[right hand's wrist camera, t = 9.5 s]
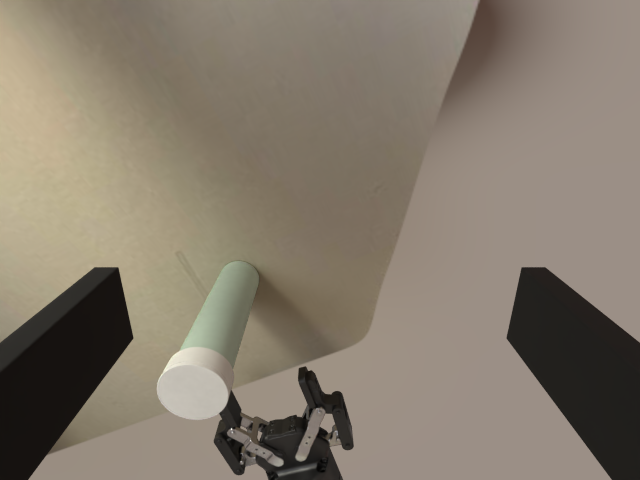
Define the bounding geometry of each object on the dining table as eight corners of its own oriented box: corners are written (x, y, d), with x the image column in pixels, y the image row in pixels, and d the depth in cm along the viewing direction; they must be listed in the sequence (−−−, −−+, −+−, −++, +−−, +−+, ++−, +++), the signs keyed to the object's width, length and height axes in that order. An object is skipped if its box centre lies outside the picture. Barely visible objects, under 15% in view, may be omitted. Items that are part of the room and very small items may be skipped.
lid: (160, 348, 27) (149, 366, 25) (228, 344, 27) (222, 362, 25) (174, 401, 29) (165, 421, 27) (238, 398, 29) (233, 418, 27)
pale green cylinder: (217, 261, 41) (157, 365, 26) (256, 259, 41) (220, 362, 26) (223, 296, 43) (170, 413, 27) (261, 293, 43) (229, 410, 27)
